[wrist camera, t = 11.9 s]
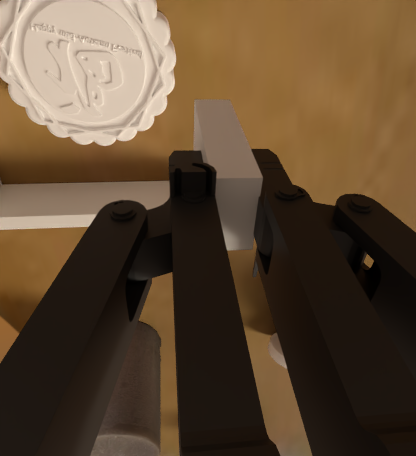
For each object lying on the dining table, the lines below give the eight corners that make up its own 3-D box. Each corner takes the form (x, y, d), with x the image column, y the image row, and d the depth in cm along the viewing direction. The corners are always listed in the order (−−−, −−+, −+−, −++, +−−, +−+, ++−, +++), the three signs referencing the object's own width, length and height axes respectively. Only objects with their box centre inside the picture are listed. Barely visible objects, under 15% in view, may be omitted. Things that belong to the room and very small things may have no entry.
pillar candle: (176, 338, 49) (181, 464, 37) (128, 372, 52) (119, 497, 41) (116, 307, 44) (101, 439, 32) (68, 346, 48) (38, 479, 36)
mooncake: (7, 113, 29) (-8, 131, 27) (-1, -76, 22) (-23, -78, 20) (158, 143, 32) (158, 163, 29) (191, -15, 25) (196, -9, 23)
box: (-163, -220, 18) (-250, -263, 14) (220, -186, 21) (236, -215, 17) (-8, 196, 33) (-30, 230, 29) (205, 190, 35) (211, 222, 32)
